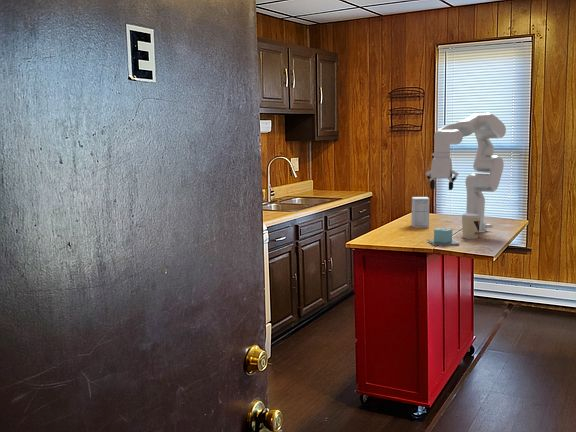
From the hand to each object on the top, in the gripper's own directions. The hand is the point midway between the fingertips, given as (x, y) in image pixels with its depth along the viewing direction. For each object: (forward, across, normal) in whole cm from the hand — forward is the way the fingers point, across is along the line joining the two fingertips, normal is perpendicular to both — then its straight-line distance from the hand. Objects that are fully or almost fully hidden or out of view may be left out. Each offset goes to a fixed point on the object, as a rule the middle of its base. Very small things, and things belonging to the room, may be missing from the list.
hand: (441, 189), depth 307 cm
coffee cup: (+26, +11, +11) cm, 30 cm away
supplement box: (+26, -27, +29) cm, 48 cm away
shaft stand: (+25, +8, -14) cm, 29 cm away
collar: (+24, +8, -14) cm, 29 cm away
